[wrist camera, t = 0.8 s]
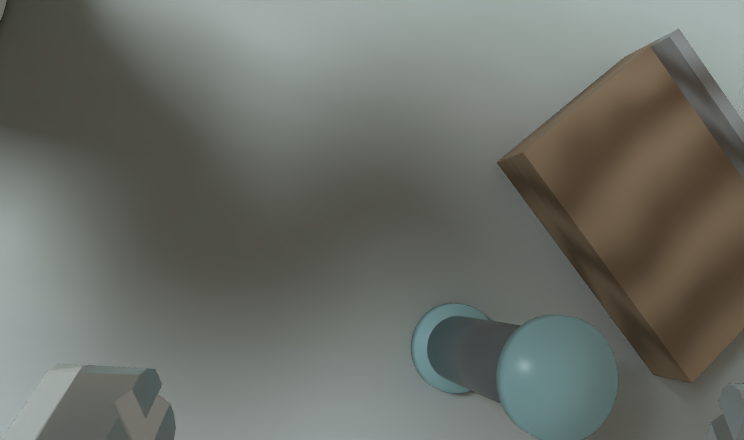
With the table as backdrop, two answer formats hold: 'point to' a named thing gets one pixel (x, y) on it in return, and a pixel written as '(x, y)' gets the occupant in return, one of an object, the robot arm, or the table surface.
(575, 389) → the cord spool
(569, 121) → the shelf block
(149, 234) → the table surface
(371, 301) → the table surface
